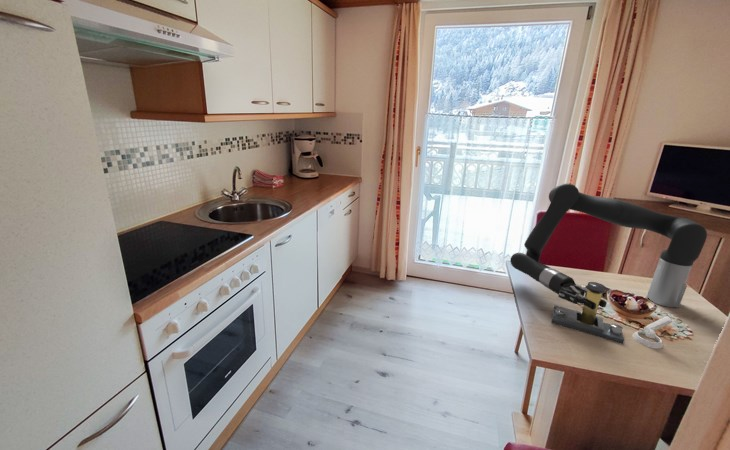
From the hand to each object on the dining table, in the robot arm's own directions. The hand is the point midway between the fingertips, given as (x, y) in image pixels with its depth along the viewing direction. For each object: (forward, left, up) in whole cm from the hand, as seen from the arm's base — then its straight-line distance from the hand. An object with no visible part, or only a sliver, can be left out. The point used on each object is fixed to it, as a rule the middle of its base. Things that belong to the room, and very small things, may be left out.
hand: (600, 305), depth 106 cm
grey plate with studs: (+2, -2, -10) cm, 10 cm away
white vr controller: (-15, -5, -10) cm, 19 cm away
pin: (+2, -2, -8) cm, 8 cm away
